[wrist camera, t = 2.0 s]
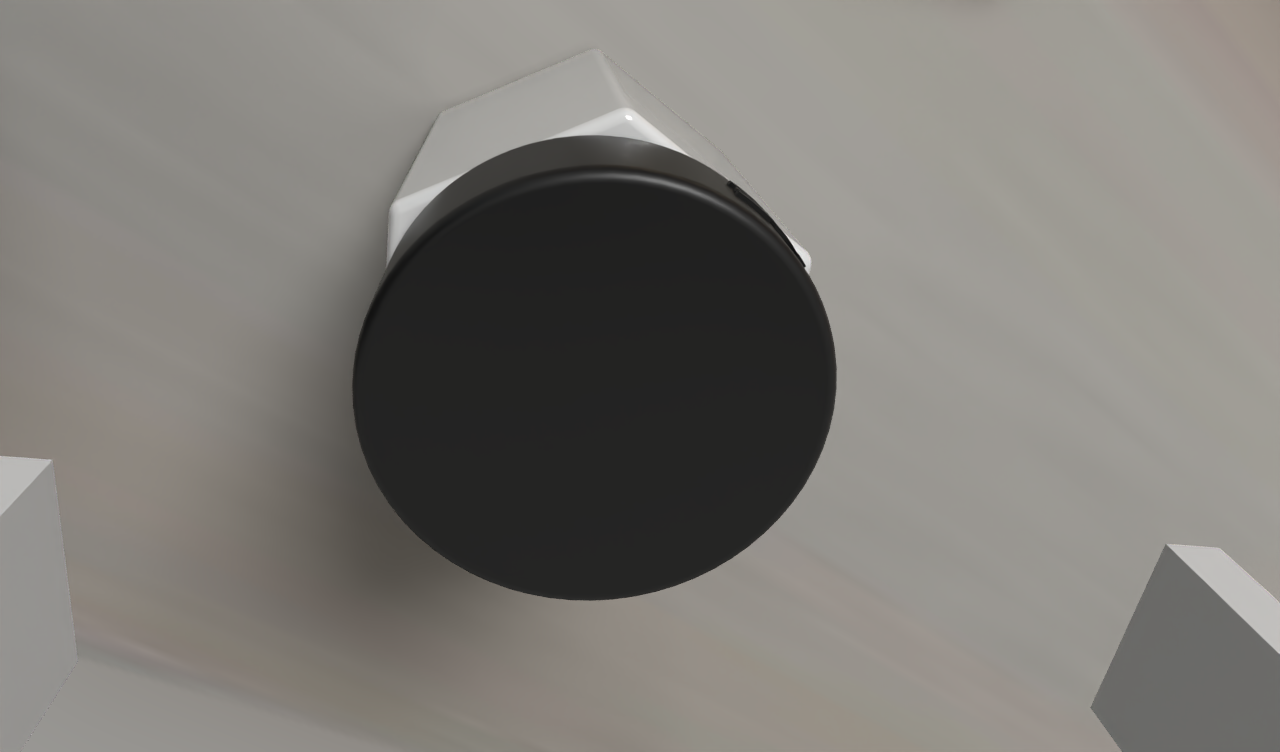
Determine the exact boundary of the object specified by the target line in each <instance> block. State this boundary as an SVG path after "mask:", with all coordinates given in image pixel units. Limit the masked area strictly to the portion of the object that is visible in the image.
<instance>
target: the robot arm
mask: <svg viewBox="0 0 1280 752" xmlns="http://www.w3.org/2000/svg"><path fill="white" fill-rule="evenodd" d="M77 662H78V657H77V649H76V641H75V633H74V625H73V617H72V609H71V601H70V593H69V585H68V577H67V569H66V561H65V553H64V545H63V537H62V529H61V521H60V513H59V506H58V498H57V490H56V482H55V474H54V466H53V460H48V459H35V458H21V457H8V456H0V752H21V750H22V749H23V747H24V745H25V744H26V742H27V741H28V739H29V738H30V736H31V734H32V733H33V731H34V730H35V728H36V727H37V725H38V723H39V722H40V720H41V719H42V717H43V716H44V714H45V712H46V711H47V709H48V708H49V706H50V705H51V703H52V701H53V700H54V698H55V697H56V695H57V694H58V692H59V691H60V689H61V687H62V686H63V684H64V683H65V681H66V680H67V678H68V676H69V675H70V673H71V672H72V670H73V668H74V667H75V665H76V664H77ZM1091 709H1092V710H1093V711H1094V713H1095V714H1096V716H1097V717H1098V718H1099V720H1100V721H1101V723H1102V724H1103V725H1104V727H1105V728H1106V730H1107V731H1108V732H1109V734H1110V735H1111V737H1112V738H1113V739H1114V741H1115V742H1116V744H1117V745H1118V746H1119V748H1120V749H1121V751H1122V752H1280V602H1279V601H1278V600H1277V599H1276V598H1275V597H1273V596H1272V595H1271V594H1270V593H1269V592H1268V591H1267V590H1266V589H1265V588H1263V587H1262V586H1261V585H1260V584H1259V583H1258V582H1257V581H1256V580H1255V579H1253V578H1252V577H1251V576H1250V575H1249V574H1248V573H1247V572H1246V571H1245V570H1243V569H1242V568H1241V567H1240V566H1239V565H1238V564H1237V563H1236V562H1235V561H1233V560H1232V559H1231V558H1230V557H1229V556H1228V555H1227V554H1226V553H1225V552H1223V551H1222V550H1221V549H1220V548H1214V547H1201V546H1188V545H1174V544H1166V545H1165V547H1164V549H1163V551H1162V553H1161V555H1160V558H1159V560H1158V562H1157V564H1156V566H1155V569H1154V571H1153V573H1152V575H1151V577H1150V579H1149V582H1148V584H1147V586H1146V588H1145V590H1144V592H1143V595H1142V597H1141V599H1140V601H1139V603H1138V606H1137V608H1136V610H1135V612H1134V614H1133V616H1132V619H1131V621H1130V623H1129V625H1128V627H1127V629H1126V632H1125V634H1124V636H1123V638H1122V640H1121V642H1120V645H1119V647H1118V649H1117V651H1116V653H1115V656H1114V658H1113V660H1112V662H1111V664H1110V666H1109V669H1108V671H1107V673H1106V675H1105V677H1104V679H1103V682H1102V684H1101V686H1100V688H1099V690H1098V693H1097V695H1096V697H1095V699H1094V701H1093V703H1092V706H1091Z"/></svg>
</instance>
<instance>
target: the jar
mask: <svg viewBox="0 0 1280 752" xmlns="http://www.w3.org/2000/svg"><path fill="white" fill-rule="evenodd" d="M811 264H812V261H811V257H810V254H809V253H808V252H807V250H806V249H805V248H804V247H803V246H802V245H801V243H800V242H799V241H798V240H797V239H796V238H795V236H794V235H793V234H792V233H791V232H790V231H789V229H788V228H787V227H786V226H785V225H784V224H783V222H782V221H781V220H780V219H779V218H778V216H777V215H776V214H775V213H774V212H773V211H772V209H771V208H770V207H769V206H768V205H767V204H766V202H765V201H764V200H763V199H762V198H761V196H760V195H759V194H758V193H757V192H756V191H755V189H754V188H753V187H752V186H751V185H750V184H749V182H748V181H747V180H746V179H745V178H744V177H743V175H742V174H741V173H740V172H739V171H738V169H737V168H736V167H735V166H734V165H733V164H732V162H731V161H730V160H729V159H728V158H727V157H726V155H725V154H724V153H723V152H722V151H721V150H720V149H719V148H717V147H716V146H715V145H714V144H713V143H711V142H710V141H709V140H708V139H707V138H705V137H704V136H703V135H702V134H701V133H699V132H698V131H697V130H696V129H695V128H693V127H692V126H691V125H690V124H689V123H687V122H686V121H685V120H684V119H683V118H681V117H680V116H679V115H678V114H677V113H675V112H674V111H673V110H672V109H671V108H669V107H668V106H667V105H666V104H665V103H663V102H662V101H661V100H660V99H659V98H657V97H656V96H655V95H654V94H653V93H651V92H650V91H649V90H648V89H647V88H645V87H644V86H643V85H642V84H641V83H639V82H638V81H637V80H636V79H635V78H633V77H632V76H631V75H630V74H629V73H627V72H626V71H625V70H624V69H623V68H621V67H620V66H619V65H618V64H616V63H615V62H614V61H613V60H612V59H610V58H609V57H608V56H607V55H606V54H604V53H603V52H602V51H600V50H598V49H591V50H588V51H586V52H584V53H581V54H579V55H576V56H574V57H572V58H569V59H567V60H565V61H562V62H560V63H557V64H555V65H553V66H550V67H548V68H546V69H543V70H541V71H538V72H536V73H534V74H531V75H529V76H526V77H524V78H522V79H519V80H517V81H514V82H512V83H510V84H507V85H505V86H502V87H500V88H498V89H495V90H493V91H491V92H488V93H486V94H483V95H481V96H479V97H476V98H474V99H471V100H469V101H467V102H464V103H462V104H459V105H457V106H455V107H452V108H450V109H447V110H445V111H443V112H441V113H440V114H439V115H438V116H437V118H436V120H435V122H434V124H433V126H432V128H431V130H430V132H429V134H428V135H427V137H426V139H425V141H424V143H423V145H422V147H421V149H420V151H419V153H418V155H417V156H416V158H415V160H414V162H413V164H412V166H411V168H410V170H409V172H408V174H407V176H406V178H405V179H404V181H403V183H402V185H401V187H400V189H399V191H398V193H397V195H396V196H395V198H394V200H393V202H392V204H391V206H390V208H389V213H388V234H387V255H386V271H385V273H384V275H383V277H382V280H381V282H380V284H379V287H378V289H377V291H376V293H375V296H374V298H373V300H372V303H371V305H370V307H369V310H368V312H367V315H366V317H365V320H364V323H363V326H362V329H361V332H360V335H359V339H358V344H357V348H356V353H355V360H354V367H353V383H352V389H353V409H354V416H355V423H356V429H357V433H358V437H359V441H360V445H361V448H362V451H363V454H364V456H365V459H366V462H367V464H368V467H369V469H370V471H371V473H372V475H373V477H374V479H375V481H376V483H377V485H378V487H379V489H380V490H381V492H382V493H383V495H384V496H385V498H386V500H387V501H388V503H389V504H390V505H391V507H392V508H393V509H394V510H395V512H396V513H397V514H398V516H399V517H400V518H401V519H402V521H403V522H404V523H405V524H406V525H407V526H408V527H409V528H410V529H411V530H412V531H413V532H414V533H415V534H416V535H417V536H418V537H419V538H420V539H422V540H423V541H424V542H425V543H426V544H428V545H429V546H430V547H431V548H432V549H433V550H435V551H436V552H438V553H439V554H441V555H442V556H443V557H445V558H446V559H448V560H449V561H451V562H452V563H454V564H456V565H458V566H459V567H461V568H463V569H465V570H466V571H468V572H470V573H472V574H474V575H476V576H478V577H481V578H483V579H485V580H487V581H489V582H492V583H495V584H498V585H500V586H503V587H506V588H509V589H512V590H516V591H520V592H523V593H527V594H531V595H537V596H542V597H548V598H556V599H566V600H609V599H619V598H626V597H634V596H638V595H643V594H648V593H652V592H656V591H660V590H663V589H666V588H670V587H673V586H676V585H678V584H681V583H684V582H686V581H689V580H691V579H694V578H696V577H698V576H700V575H702V574H704V573H706V572H708V571H711V570H713V569H714V568H716V567H718V566H720V565H721V564H723V563H725V562H726V561H728V560H730V559H731V558H733V557H734V556H736V555H737V554H738V553H740V552H741V551H743V550H744V549H746V548H747V547H748V546H750V545H751V544H752V543H753V542H754V541H756V540H757V539H758V538H759V537H760V536H761V535H763V534H764V533H765V532H766V531H767V530H768V529H769V528H770V527H771V526H772V525H773V524H774V523H775V522H776V521H777V520H778V519H779V518H780V517H781V516H782V514H783V513H784V512H785V511H786V510H787V508H788V507H789V506H790V505H791V504H792V502H793V501H794V500H795V498H796V497H797V495H798V494H799V492H800V491H801V490H802V488H803V487H804V485H805V484H806V482H807V480H808V478H809V476H810V475H811V473H812V471H813V469H814V468H815V465H816V463H817V461H818V459H819V456H820V454H821V452H822V450H823V447H824V444H825V441H826V438H827V435H828V432H829V429H830V425H831V420H832V416H833V411H834V404H835V396H836V358H835V348H834V342H833V337H832V332H831V328H830V324H829V320H828V317H827V314H826V311H825V308H824V306H823V303H822V301H821V298H820V296H819V294H818V291H817V289H816V287H815V285H814V284H813V282H812V280H811V278H810V276H809V274H810V270H811Z"/></svg>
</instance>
